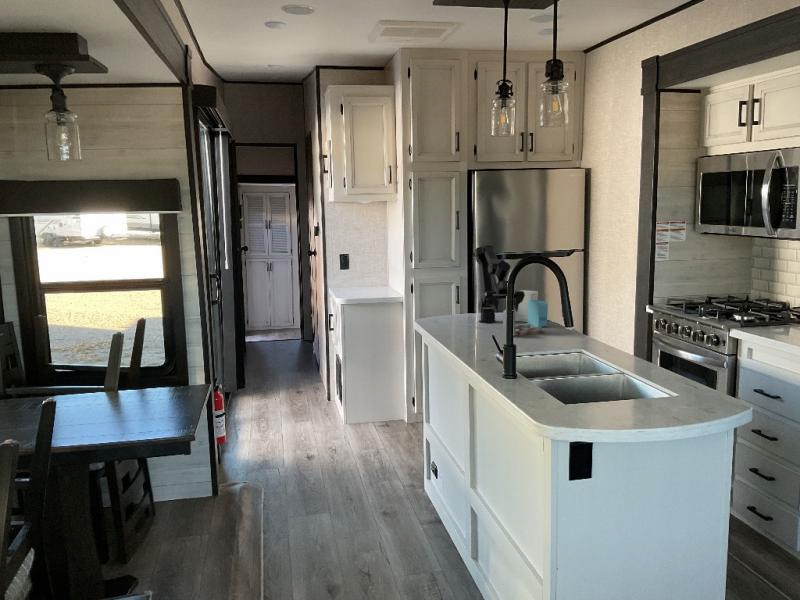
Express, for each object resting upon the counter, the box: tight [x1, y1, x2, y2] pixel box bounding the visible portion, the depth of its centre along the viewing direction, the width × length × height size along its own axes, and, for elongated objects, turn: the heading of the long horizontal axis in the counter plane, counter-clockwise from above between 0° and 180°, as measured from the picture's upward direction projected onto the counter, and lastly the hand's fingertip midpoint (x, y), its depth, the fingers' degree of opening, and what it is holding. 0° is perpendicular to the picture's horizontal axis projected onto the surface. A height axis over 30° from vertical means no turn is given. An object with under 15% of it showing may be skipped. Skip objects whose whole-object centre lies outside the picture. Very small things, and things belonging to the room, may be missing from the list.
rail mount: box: [515, 323, 544, 336], centre depth 307 cm, size 13×10×3 cm
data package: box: [527, 299, 548, 328], centre depth 324 cm, size 12×4×12 cm, turn 15°
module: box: [502, 309, 516, 338], centre depth 299 cm, size 4×5×11 cm
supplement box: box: [514, 289, 539, 323], centre depth 337 cm, size 9×9×15 cm
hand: (507, 311), depth 301 cm, fingers open, 9 cm apart
